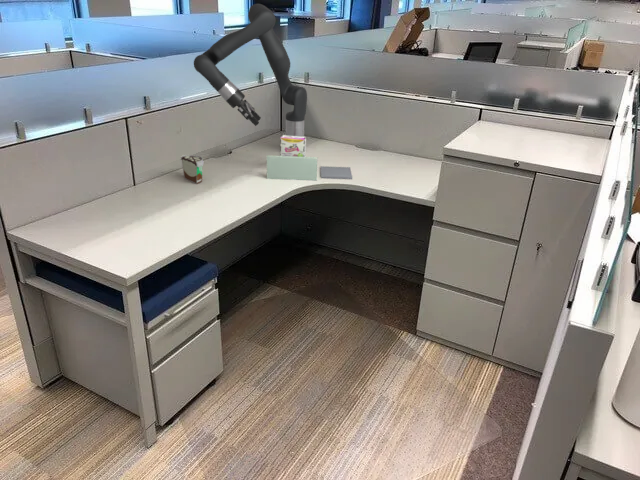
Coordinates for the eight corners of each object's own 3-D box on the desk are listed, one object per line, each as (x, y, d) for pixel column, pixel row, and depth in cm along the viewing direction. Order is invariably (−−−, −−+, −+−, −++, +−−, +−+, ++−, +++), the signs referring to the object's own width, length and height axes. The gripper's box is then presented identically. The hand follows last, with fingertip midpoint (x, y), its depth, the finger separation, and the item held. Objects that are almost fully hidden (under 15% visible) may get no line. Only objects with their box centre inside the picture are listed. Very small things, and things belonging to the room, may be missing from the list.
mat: (320, 167, 238) (320, 166, 238) (350, 168, 239) (350, 167, 238) (321, 178, 226) (321, 176, 225) (352, 179, 226) (352, 177, 226)
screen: (267, 177, 224) (267, 155, 219) (316, 178, 225) (317, 157, 220) (266, 178, 222) (266, 156, 218) (316, 180, 223) (317, 158, 218)
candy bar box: (279, 172, 230) (279, 137, 222) (281, 169, 234) (281, 134, 227) (303, 174, 229) (304, 139, 221) (305, 171, 233) (306, 136, 226)
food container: (211, 181, 216) (209, 159, 212) (198, 185, 212) (197, 162, 208) (194, 174, 224) (192, 152, 219) (182, 177, 219) (180, 155, 215)
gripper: (235, 91, 208) (263, 120, 213) (239, 85, 220) (265, 112, 226) (222, 103, 210) (250, 131, 215) (227, 96, 223) (254, 123, 228)
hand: (258, 122), depth 221 cm, fingers open, 8 cm apart
